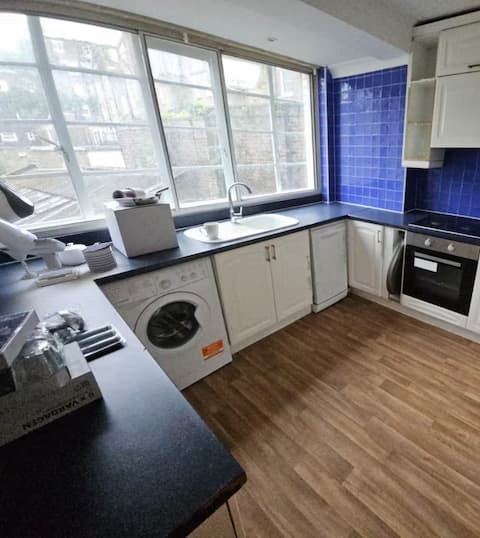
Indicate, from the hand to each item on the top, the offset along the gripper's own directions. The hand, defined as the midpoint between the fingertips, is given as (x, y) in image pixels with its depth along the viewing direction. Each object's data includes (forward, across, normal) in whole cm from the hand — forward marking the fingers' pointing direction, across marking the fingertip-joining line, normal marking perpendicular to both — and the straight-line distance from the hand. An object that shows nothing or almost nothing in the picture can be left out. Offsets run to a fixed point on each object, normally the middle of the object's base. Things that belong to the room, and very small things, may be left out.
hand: (49, 254), depth 137 cm
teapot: (+24, +5, -7) cm, 26 cm away
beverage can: (+4, 0, +5) cm, 7 cm away
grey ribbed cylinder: (+14, -15, +3) cm, 21 cm away
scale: (+7, 0, +9) cm, 12 cm away
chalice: (+12, +16, +5) cm, 20 cm away
